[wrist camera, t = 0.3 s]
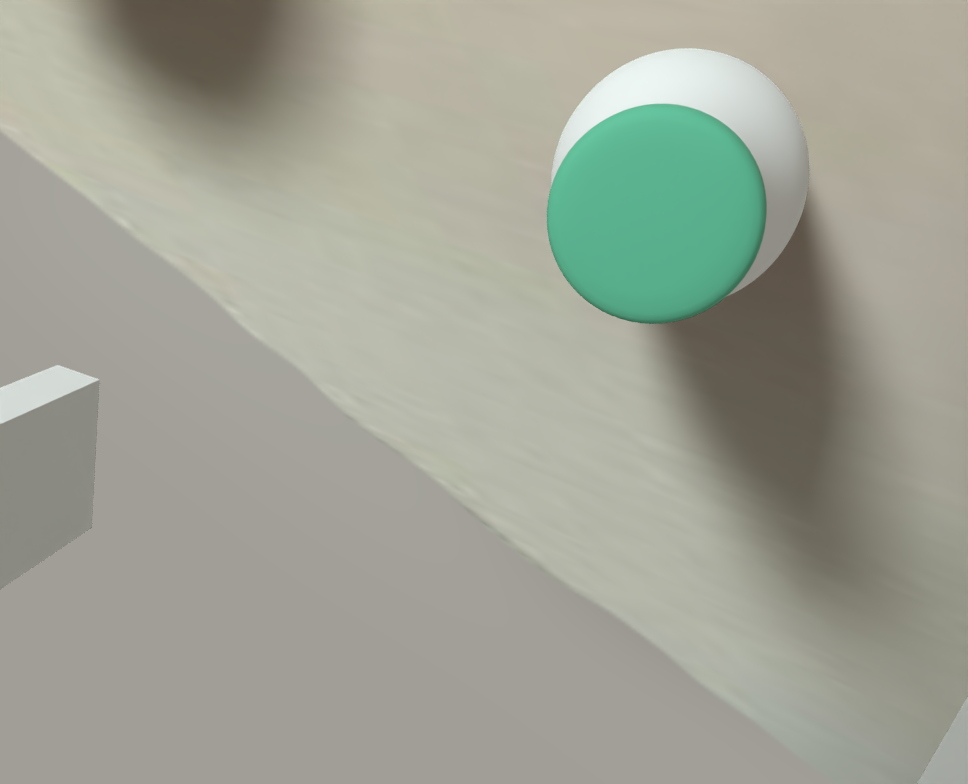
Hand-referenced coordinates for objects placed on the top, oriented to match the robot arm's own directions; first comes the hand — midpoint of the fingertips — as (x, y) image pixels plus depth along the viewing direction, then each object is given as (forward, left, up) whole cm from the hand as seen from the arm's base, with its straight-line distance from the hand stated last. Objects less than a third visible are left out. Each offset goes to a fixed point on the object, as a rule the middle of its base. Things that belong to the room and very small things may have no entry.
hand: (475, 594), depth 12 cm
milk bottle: (-5, 0, -28) cm, 28 cm away
